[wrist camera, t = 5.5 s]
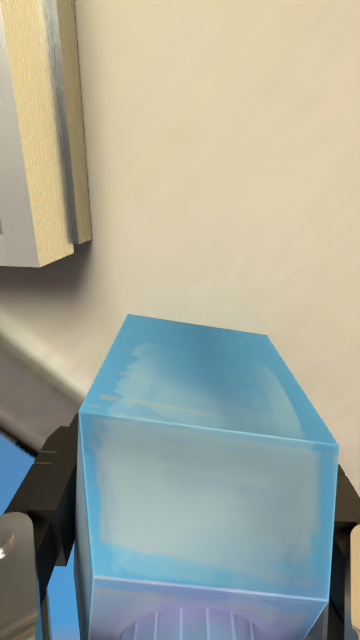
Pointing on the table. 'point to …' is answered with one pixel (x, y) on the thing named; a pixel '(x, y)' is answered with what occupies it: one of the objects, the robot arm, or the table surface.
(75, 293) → the table surface
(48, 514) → the robot arm
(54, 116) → the grey rectangular tray
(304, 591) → the perfume bottle
